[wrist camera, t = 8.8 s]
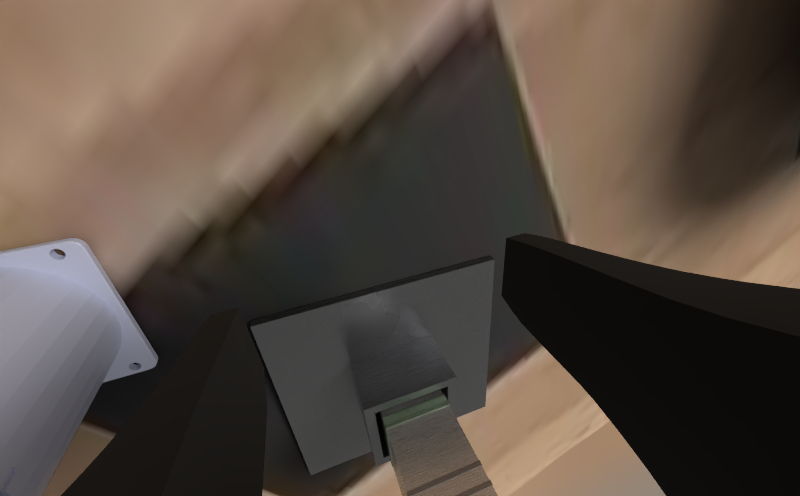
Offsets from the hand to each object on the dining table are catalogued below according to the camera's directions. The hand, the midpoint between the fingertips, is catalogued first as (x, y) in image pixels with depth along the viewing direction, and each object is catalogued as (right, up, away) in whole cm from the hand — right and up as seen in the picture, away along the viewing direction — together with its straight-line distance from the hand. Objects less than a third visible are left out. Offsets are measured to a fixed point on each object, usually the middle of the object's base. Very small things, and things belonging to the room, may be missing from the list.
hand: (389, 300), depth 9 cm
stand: (0, -8, +17) cm, 18 cm away
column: (+1, -9, +14) cm, 17 cm away
